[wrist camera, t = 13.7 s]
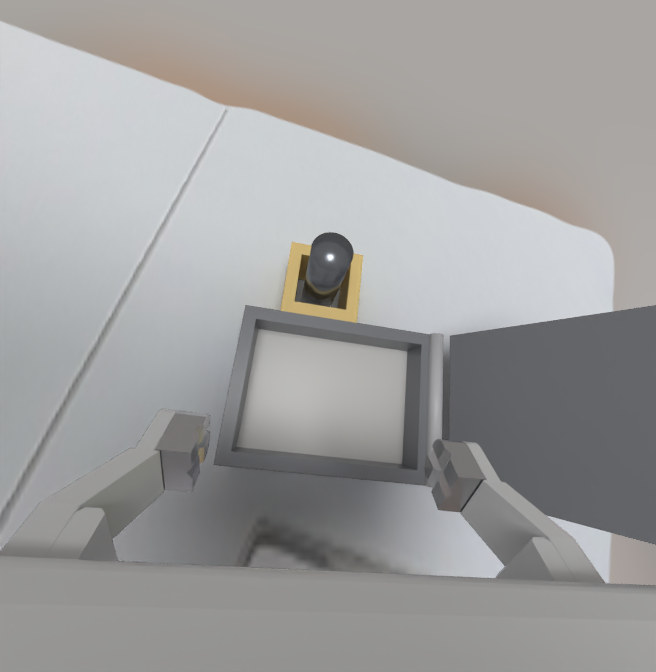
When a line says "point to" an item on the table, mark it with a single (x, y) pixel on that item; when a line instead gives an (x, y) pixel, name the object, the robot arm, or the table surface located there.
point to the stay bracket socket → (344, 311)
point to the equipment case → (332, 398)
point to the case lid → (566, 414)
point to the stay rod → (326, 268)
